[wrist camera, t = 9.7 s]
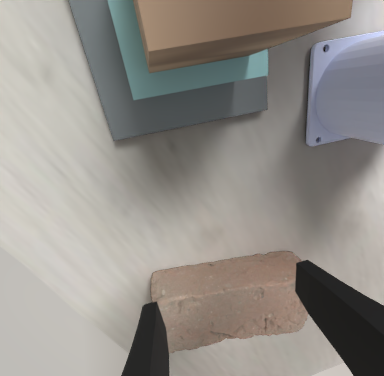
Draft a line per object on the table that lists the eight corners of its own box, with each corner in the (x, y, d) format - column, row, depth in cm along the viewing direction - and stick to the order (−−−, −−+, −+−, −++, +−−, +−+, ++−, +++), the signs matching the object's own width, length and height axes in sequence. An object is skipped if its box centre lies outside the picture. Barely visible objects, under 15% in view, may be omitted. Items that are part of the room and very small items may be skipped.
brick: (156, 321, 26) (157, 365, 22) (148, 267, 23) (149, 307, 19) (282, 296, 29) (305, 331, 25) (292, 245, 25) (321, 276, 21)
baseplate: (255, -103, 13) (263, -117, 12) (261, 108, 18) (267, 109, 17) (46, -81, 12) (37, -95, 11) (115, 138, 17) (113, 140, 16)
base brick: (224, -51, 13) (265, -129, 8) (234, 80, 16) (268, 75, 11) (104, -36, 12) (78, -111, 8) (138, 98, 15) (133, 100, 11)
